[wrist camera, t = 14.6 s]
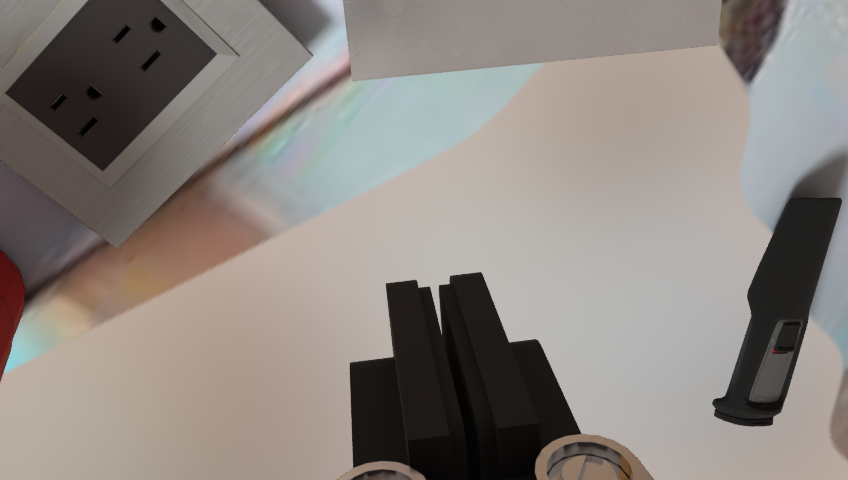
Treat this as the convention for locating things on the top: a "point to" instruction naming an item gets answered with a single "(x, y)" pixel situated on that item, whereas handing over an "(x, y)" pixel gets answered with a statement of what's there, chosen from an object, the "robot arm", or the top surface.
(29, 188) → the top surface
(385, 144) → the top surface
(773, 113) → the top surface
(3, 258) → the plastic cup
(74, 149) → the electrical outlet
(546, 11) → the socket plate
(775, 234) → the electric trimmer
